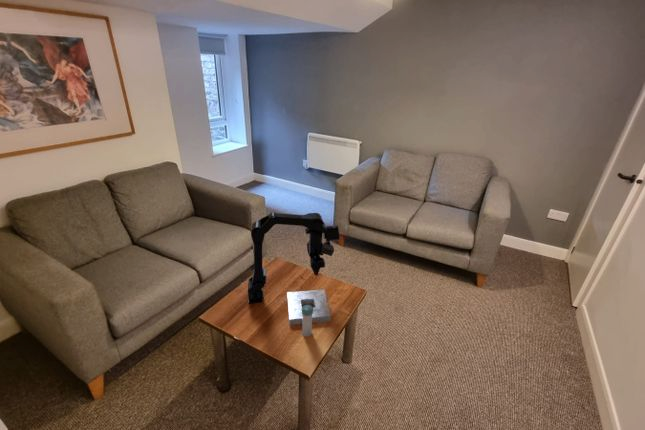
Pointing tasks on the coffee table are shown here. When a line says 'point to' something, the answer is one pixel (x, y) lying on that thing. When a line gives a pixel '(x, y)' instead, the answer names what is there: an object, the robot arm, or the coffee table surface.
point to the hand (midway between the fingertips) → (315, 269)
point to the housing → (308, 297)
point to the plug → (307, 320)
